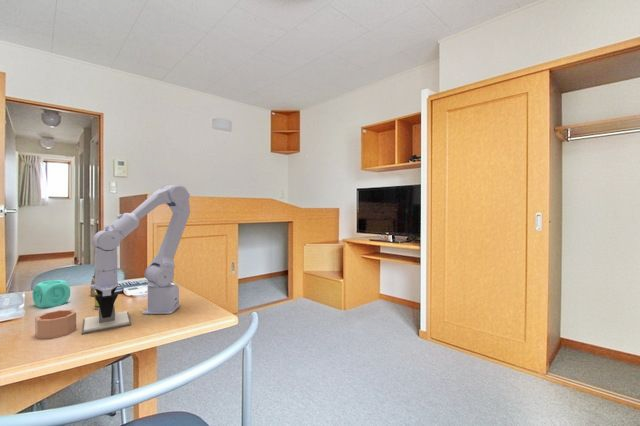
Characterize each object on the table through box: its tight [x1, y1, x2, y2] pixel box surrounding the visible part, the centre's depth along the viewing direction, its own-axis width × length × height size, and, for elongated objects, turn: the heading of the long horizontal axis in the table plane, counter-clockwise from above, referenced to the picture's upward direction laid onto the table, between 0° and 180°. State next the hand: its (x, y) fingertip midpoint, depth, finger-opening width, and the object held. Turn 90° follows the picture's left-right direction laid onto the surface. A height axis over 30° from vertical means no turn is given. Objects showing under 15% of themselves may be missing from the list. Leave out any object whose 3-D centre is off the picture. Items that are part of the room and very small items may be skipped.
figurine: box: [90, 272, 95, 298], centre depth 125 cm, size 7×7×12 cm
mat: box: [81, 311, 132, 335], centre depth 96 cm, size 12×12×1 cm
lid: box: [84, 305, 129, 332], centre depth 96 cm, size 11×11×4 cm
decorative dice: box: [32, 279, 71, 309], centre depth 112 cm, size 8×8×8 cm
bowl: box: [34, 309, 77, 340], centre depth 89 cm, size 8×8×5 cm
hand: (106, 313), depth 96 cm, fingers open, 7 cm apart
